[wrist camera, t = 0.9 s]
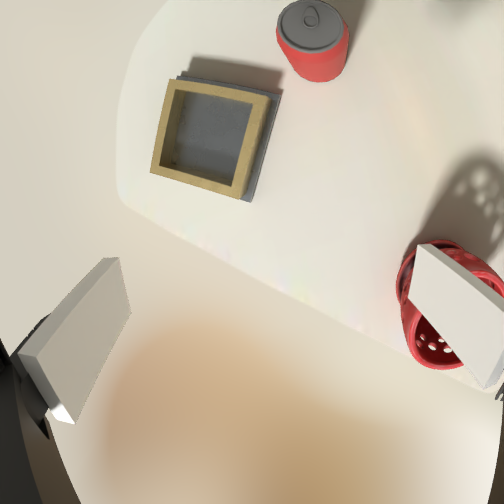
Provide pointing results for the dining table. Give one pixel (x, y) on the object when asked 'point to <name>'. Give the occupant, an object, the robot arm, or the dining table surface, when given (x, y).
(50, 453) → the robot arm
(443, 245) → the plant pot
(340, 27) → the beer can
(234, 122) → the frame
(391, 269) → the dining table surface
